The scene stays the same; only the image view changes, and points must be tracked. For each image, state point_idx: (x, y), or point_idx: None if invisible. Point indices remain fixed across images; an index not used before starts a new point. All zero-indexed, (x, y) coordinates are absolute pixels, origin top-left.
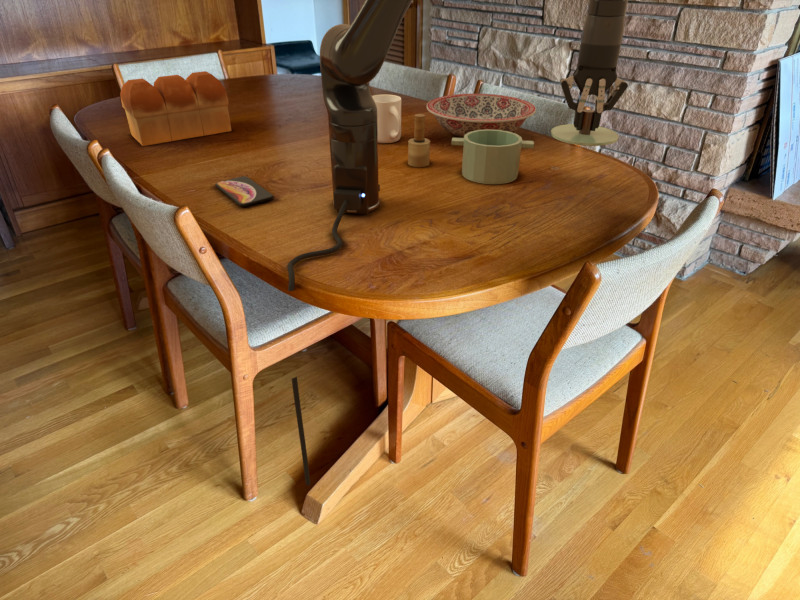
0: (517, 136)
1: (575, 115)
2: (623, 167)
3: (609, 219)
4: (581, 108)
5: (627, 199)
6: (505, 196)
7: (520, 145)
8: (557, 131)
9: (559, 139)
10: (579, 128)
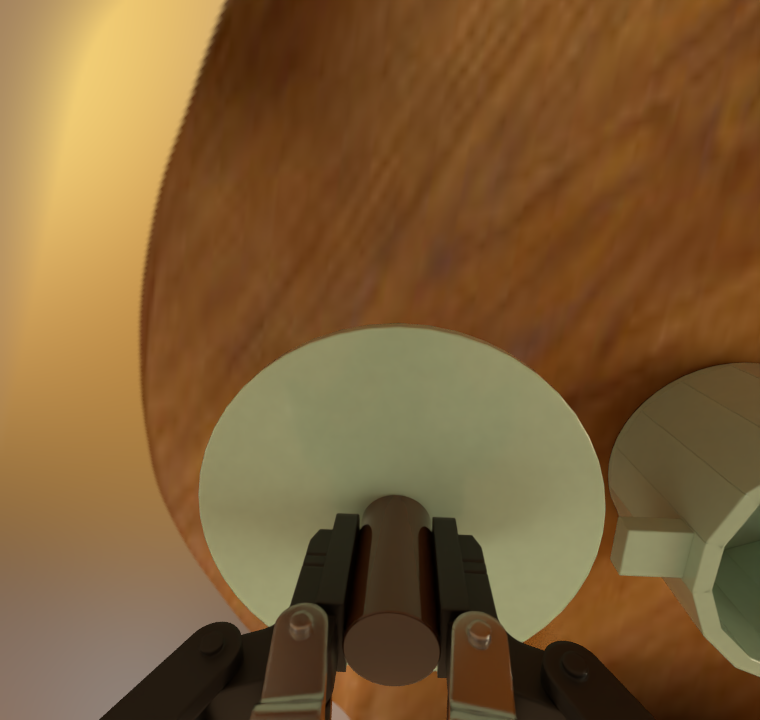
0: (712, 601)
1: (492, 608)
2: (215, 565)
3: (316, 40)
4: (469, 644)
5: (226, 273)
6: (710, 238)
7: (703, 513)
8: (561, 540)
9: (574, 414)
10: (441, 520)
